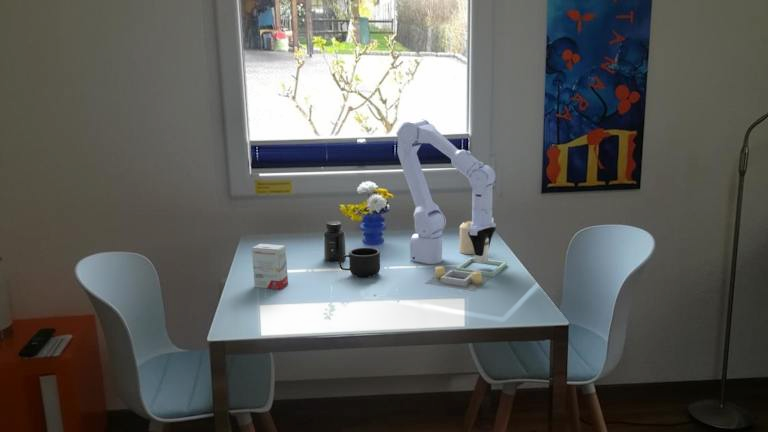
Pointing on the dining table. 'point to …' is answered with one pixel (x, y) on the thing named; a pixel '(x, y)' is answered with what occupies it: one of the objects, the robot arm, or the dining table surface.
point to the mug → (363, 262)
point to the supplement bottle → (334, 242)
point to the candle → (465, 239)
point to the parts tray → (484, 273)
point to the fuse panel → (458, 279)
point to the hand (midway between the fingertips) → (481, 253)
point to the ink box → (270, 266)
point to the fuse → (484, 253)
